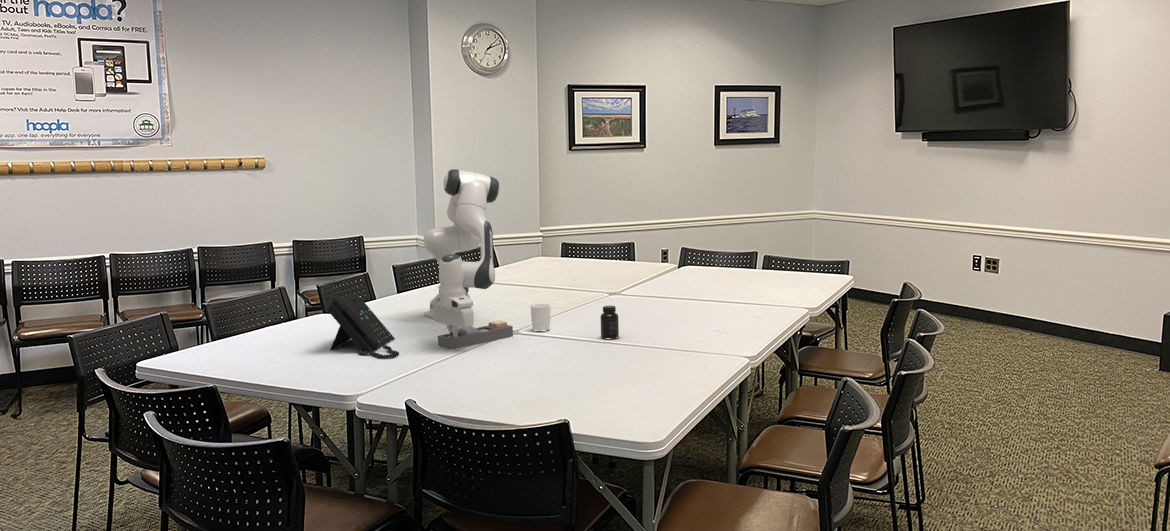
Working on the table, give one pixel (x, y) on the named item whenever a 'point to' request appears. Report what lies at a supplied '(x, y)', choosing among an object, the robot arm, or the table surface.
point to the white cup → (540, 316)
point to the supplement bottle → (609, 322)
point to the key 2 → (468, 330)
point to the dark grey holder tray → (475, 337)
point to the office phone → (360, 326)
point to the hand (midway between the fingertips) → (453, 336)
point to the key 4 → (497, 324)
